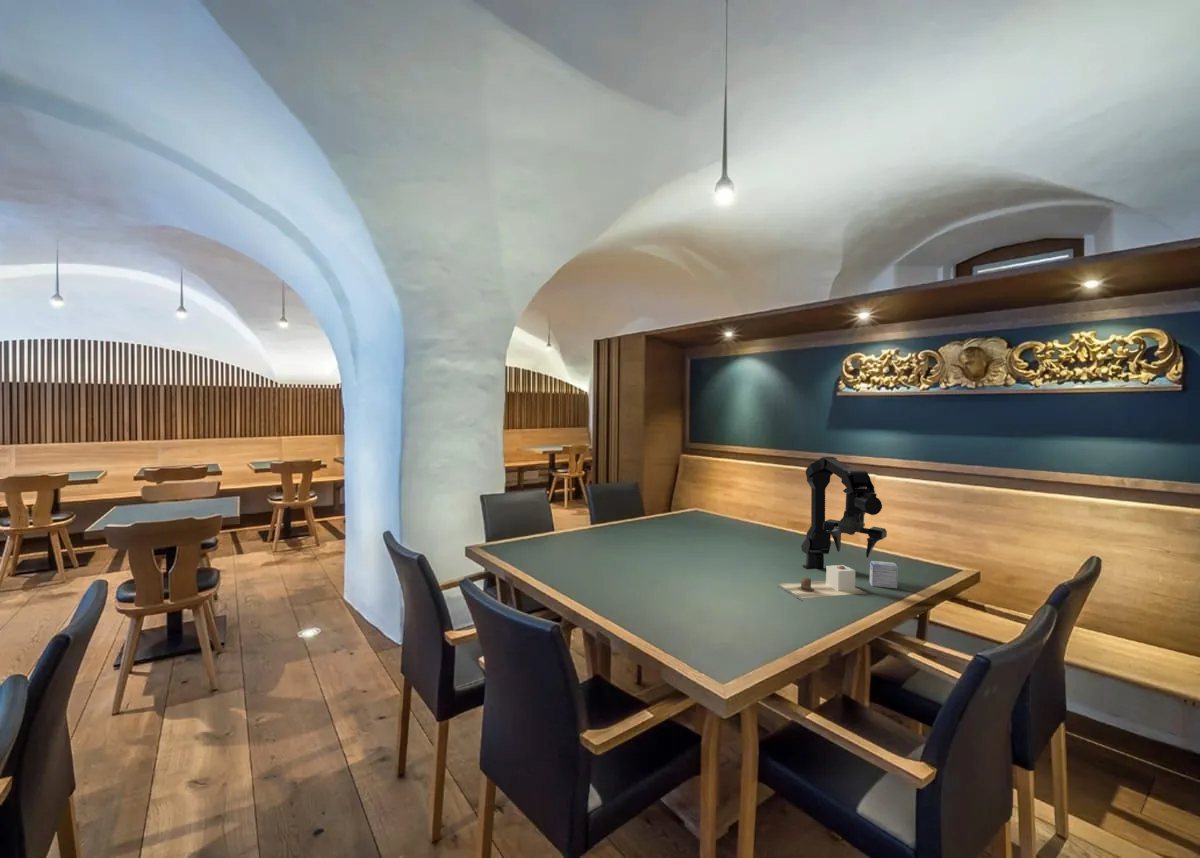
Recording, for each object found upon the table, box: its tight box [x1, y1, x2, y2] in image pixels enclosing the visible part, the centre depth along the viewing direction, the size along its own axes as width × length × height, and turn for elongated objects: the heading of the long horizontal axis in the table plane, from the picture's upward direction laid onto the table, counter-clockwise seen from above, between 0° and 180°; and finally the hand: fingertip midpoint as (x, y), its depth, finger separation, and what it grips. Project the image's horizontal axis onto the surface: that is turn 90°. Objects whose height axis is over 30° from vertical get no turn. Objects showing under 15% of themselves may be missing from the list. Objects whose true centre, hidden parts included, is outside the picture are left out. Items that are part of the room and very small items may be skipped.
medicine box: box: [868, 560, 899, 589], centre depth 186 cm, size 8×4×9 cm, turn 74°
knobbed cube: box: [825, 564, 856, 591], centre depth 184 cm, size 6×6×7 cm
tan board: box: [777, 577, 867, 602], centre depth 182 cm, size 14×24×4 cm, turn 103°
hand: (852, 554), depth 182 cm, fingers open, 9 cm apart
